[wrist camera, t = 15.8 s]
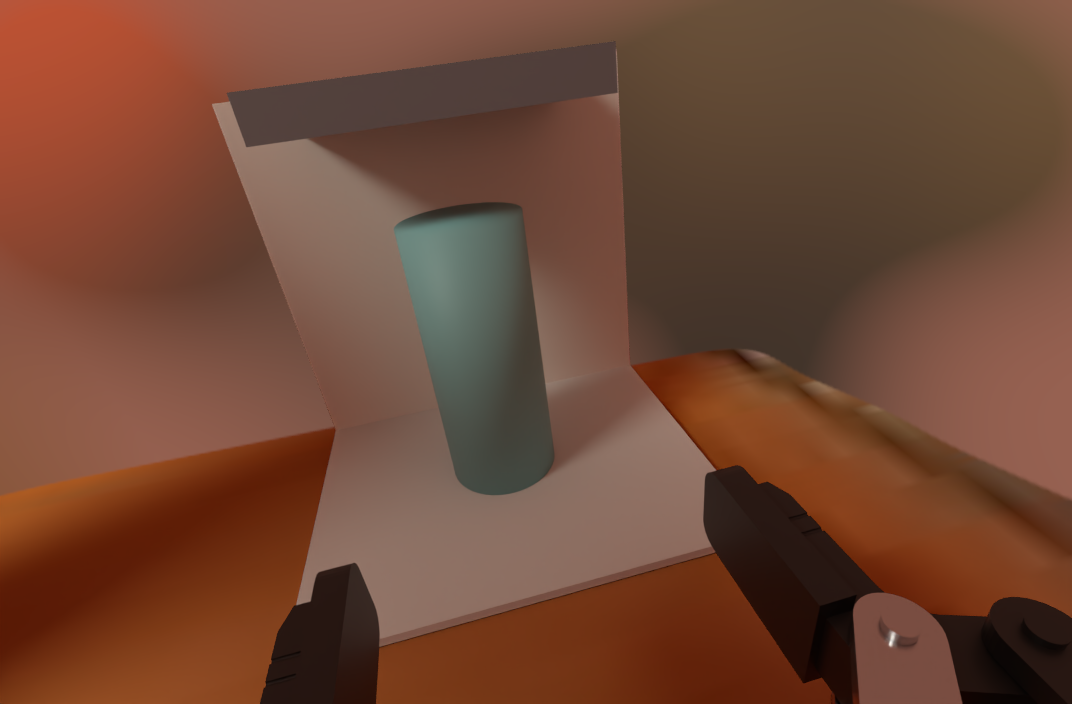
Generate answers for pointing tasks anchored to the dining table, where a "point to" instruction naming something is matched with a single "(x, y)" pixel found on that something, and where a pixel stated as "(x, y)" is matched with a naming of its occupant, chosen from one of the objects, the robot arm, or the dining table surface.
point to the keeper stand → (396, 347)
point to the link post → (481, 341)
